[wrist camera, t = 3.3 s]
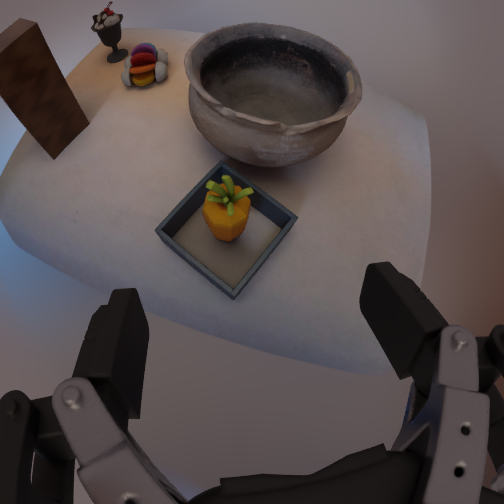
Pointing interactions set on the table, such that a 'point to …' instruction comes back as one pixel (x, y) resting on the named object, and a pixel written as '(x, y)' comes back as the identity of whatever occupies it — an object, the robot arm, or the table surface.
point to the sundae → (110, 32)
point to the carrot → (226, 208)
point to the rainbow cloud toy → (145, 65)
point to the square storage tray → (197, 198)
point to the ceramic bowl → (270, 92)
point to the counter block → (38, 88)
